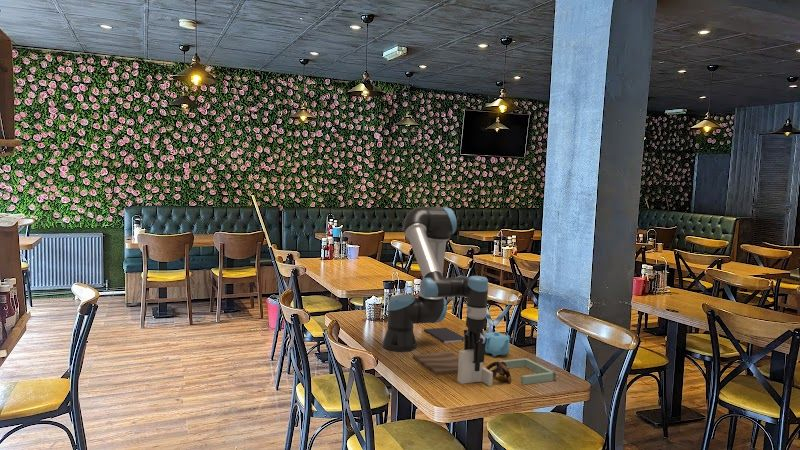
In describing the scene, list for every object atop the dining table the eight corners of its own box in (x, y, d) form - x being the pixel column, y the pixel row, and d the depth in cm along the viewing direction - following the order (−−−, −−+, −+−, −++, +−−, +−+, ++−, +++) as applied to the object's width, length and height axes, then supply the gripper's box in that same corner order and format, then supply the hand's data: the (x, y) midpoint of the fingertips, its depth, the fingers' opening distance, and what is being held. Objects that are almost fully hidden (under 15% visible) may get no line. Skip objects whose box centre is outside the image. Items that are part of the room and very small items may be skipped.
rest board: (412, 357, 241) (412, 355, 241) (449, 354, 249) (449, 351, 248) (436, 374, 221) (436, 372, 221) (475, 370, 229) (476, 367, 229)
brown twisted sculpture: (510, 387, 212) (501, 369, 211) (488, 393, 217) (479, 375, 216) (516, 370, 223) (507, 353, 222) (495, 376, 227) (486, 359, 226)
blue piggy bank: (472, 350, 256) (473, 328, 255) (496, 346, 263) (497, 325, 262) (497, 362, 241) (498, 339, 240) (522, 358, 247) (523, 335, 247)
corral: (495, 368, 232) (495, 361, 232) (525, 364, 238) (526, 358, 238) (523, 384, 215) (523, 377, 214) (555, 380, 221) (556, 372, 221)
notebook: (423, 332, 284) (443, 344, 265) (423, 329, 284) (443, 340, 265) (445, 330, 290) (467, 342, 270) (445, 327, 289) (467, 338, 270)
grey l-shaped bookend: (451, 376, 220) (452, 346, 219) (474, 374, 224) (476, 344, 223) (468, 388, 208) (469, 356, 207) (492, 385, 212) (494, 354, 211)
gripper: (457, 312, 220) (453, 371, 222) (478, 323, 205) (475, 385, 207) (473, 311, 223) (470, 369, 225) (496, 321, 208) (492, 383, 210)
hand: (472, 376), depth 216 cm, fingers closed on grey l-shaped bookend, 3 cm apart
